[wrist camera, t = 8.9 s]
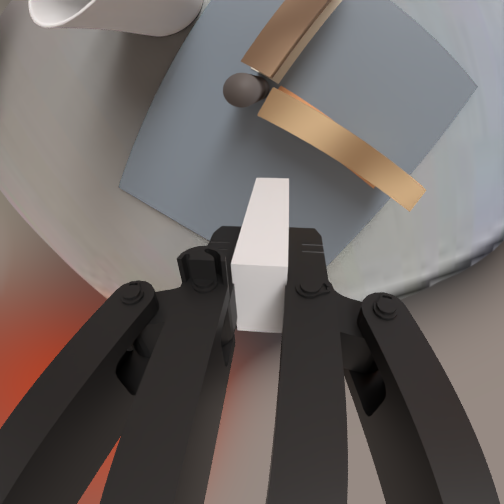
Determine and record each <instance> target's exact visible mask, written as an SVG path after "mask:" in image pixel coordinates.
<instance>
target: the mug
mask: <svg viewBox="0 0 504 504" xmlns="http://www.w3.org/2000/svg"><path fill="white" fill-rule="evenodd" d="M202 3H203V0H29V13H30V16H31V18H32V20H33V21H34V22H35V23H36V24H37V25H38V26H40V27H43V28H84V29H101V30H112V31H121V32H129V33H135V34H143V35H149V36H157V37H160V36H168V35H171V34H174V33H177V32H179V31H181V30H182V29H184V28H185V27H187V26H188V25H189V24H190V23H191V22H192V21H193V20H194V19H195V18H196V16H197V15H198V13H199V12H200V10H201V7H202Z"/></svg>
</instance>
